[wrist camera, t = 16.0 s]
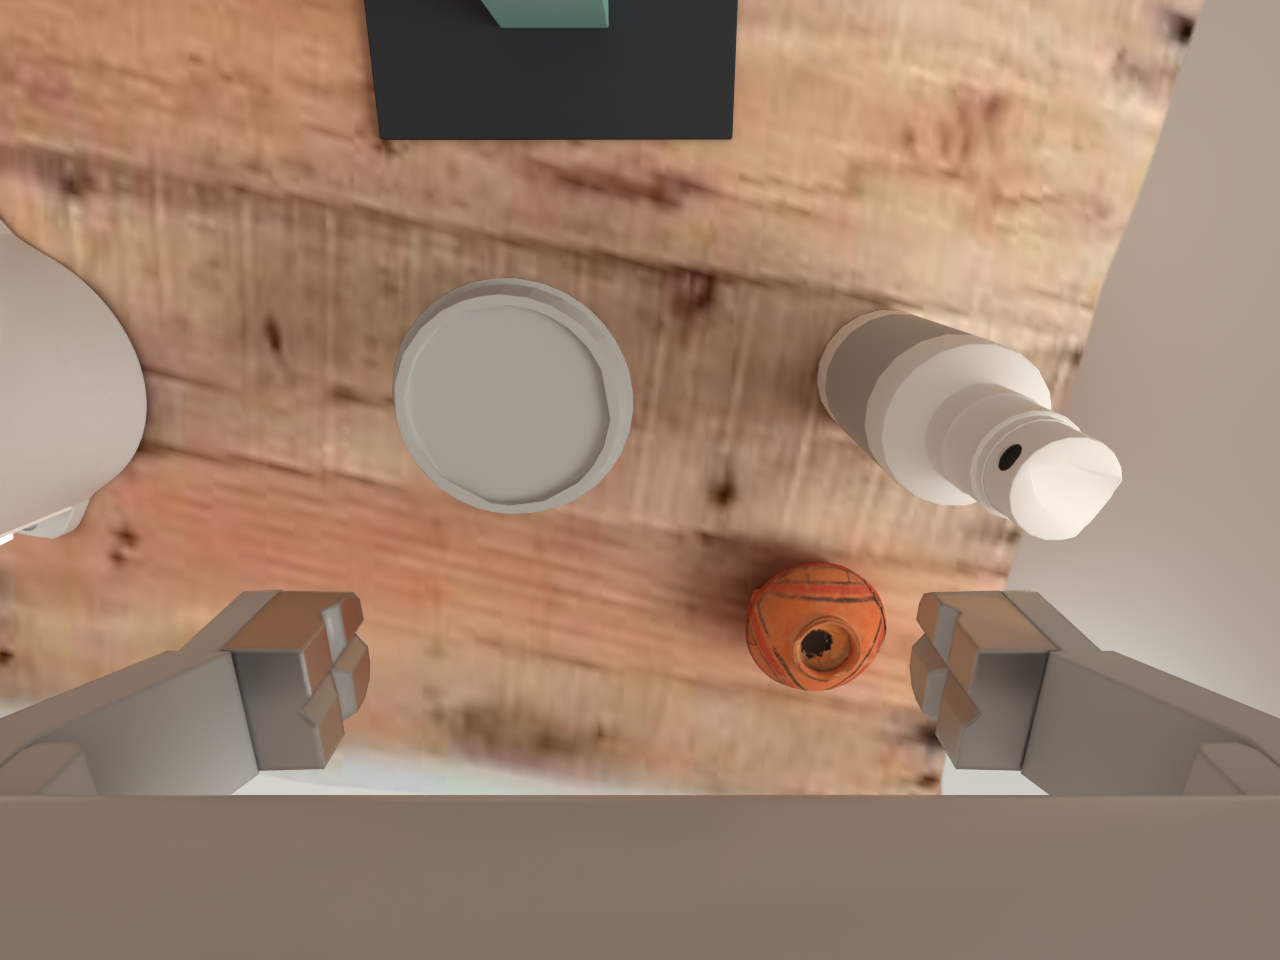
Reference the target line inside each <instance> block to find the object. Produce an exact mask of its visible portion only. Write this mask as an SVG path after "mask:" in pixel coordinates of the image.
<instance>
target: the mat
mask: <svg viewBox="0 0 1280 960" xmlns="http://www.w3.org/2000/svg"><path fill="white" fill-rule="evenodd" d="M364 3H365V11H366V20H367V29H368V37H369V46H370V55H371V63H372V72H373V81H374V89H375V98H376V106H377V115H378V124H379V132H380V138H381V139H383V140H643V139H731V138H732V131H733V106H734V80H735V55H736V30H737V4H738V0H608V16H609V26H608V27H607V28H501V27H500V26H499V25H498V23H497V22H496V21H495V19H494V18H493V16H492V15H491V14H490V12H489V11H488V9H487V8H486V6H485V5H484V4H483V2H482V1H481V0H364Z"/></svg>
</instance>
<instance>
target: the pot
mask: <svg viewBox="0 0 1280 960" xmlns="http://www.w3.org/2000/svg"><path fill="white" fill-rule="evenodd" d="M885 635H886V619H885V612H884V607H883V604H882V602H881V599H880V597H879V595H878V593H877V592H876V590H875V589H874V588H873V587H872V586H871V585H870V584H869V583H868V582H867V581H866V580H865V579H863V578H862V577H860V576H859V575H858V574H856V573H855V572H853V571H851V570H850V569H848V568H846V567H843V566H840V565H837V564H831V563H823V562H818V563H806V564H801V565H798V566H794V567H792V568H790V569H787V570H785V571H783V572H781V573H779V574H777V575H776V576H774V577H773V578H771V579H770V580H769V581H768V582H767V583H765V584H764V585H763V586H762V587H761V588H760V589H758V588H757V589H755V590H754V591H753V593H752V596H751V605H750V607H749V610H748V613H747V618H746V641H747V645H748V649H749V652H750V654H751V656H752V658H753V659H754V661H755V663H756V664H757V665H758V666H759V668H760V669H761V670H762V671H763V672H764V673H765V674H766V675H767V676H769V677H770V678H771V679H773V680H774V681H776V682H779V683H781V684H783V685H786V686H789V687H792V688H796V689H801V690H807V691H822V690H829V689H833V688H836V687H839V686H842V685H844V684H846V683H848V682H850V681H851V680H853V679H854V678H856V677H857V676H858V675H860V674H861V673H862V672H863V671H864V670H866V669H867V668H868V666H869V665H870V664H871V663H872V662H873V660H874V659H875V657H876V656H877V654H878V652H879V650H880V648H881V646H882V644H883V641H884V639H885Z"/></svg>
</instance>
